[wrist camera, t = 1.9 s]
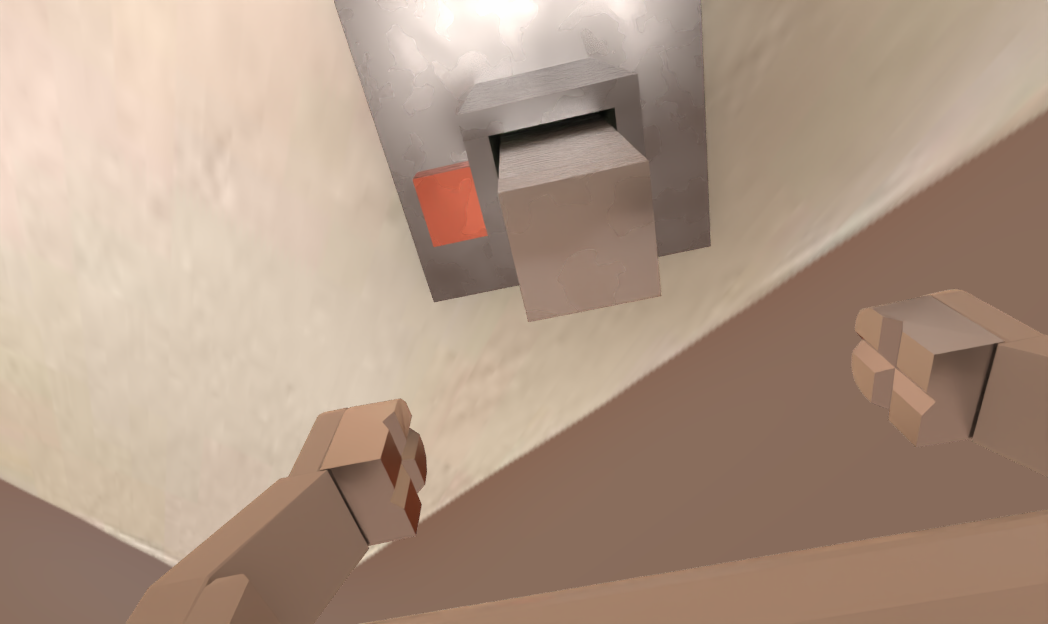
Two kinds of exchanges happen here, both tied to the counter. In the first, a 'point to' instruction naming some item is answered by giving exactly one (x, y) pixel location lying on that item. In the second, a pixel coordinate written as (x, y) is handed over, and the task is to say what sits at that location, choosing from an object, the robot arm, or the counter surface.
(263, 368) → the counter surface
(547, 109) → the jack base
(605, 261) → the block
